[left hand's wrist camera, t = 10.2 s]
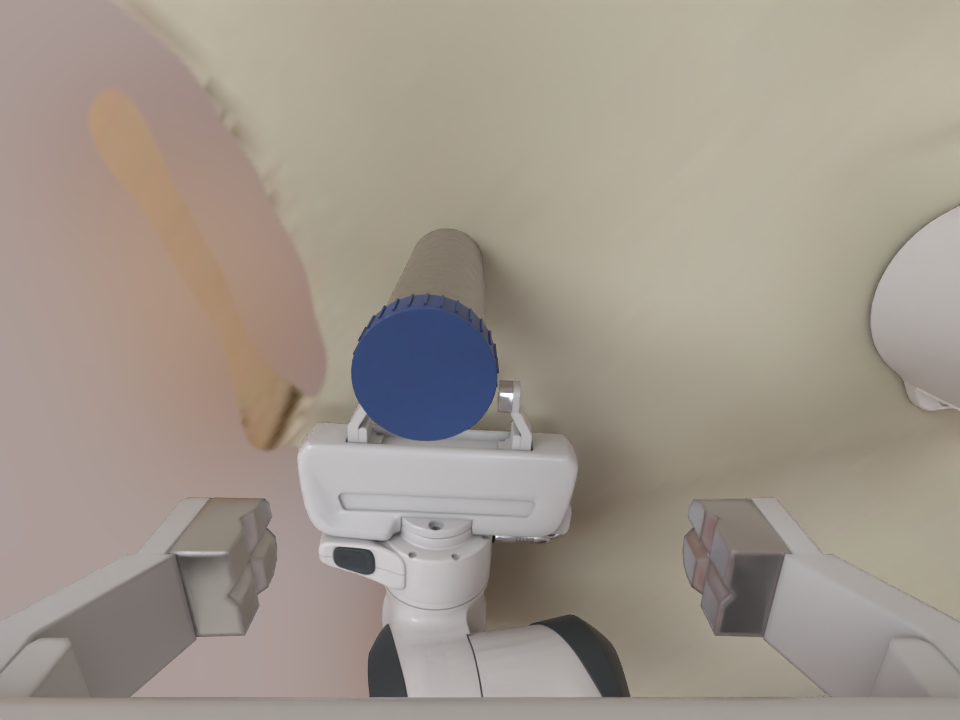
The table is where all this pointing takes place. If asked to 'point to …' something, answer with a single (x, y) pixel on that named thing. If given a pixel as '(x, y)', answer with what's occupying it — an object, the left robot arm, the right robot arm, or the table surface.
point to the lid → (425, 368)
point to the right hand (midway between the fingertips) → (442, 380)
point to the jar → (445, 270)
